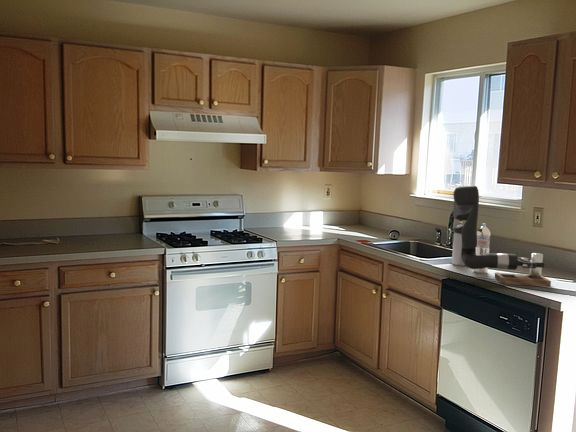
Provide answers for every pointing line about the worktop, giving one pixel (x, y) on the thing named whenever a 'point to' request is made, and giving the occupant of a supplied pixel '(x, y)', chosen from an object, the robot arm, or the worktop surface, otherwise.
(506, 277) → the wooden tray
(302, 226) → the worktop surface
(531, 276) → the peg
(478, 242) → the water bottle
